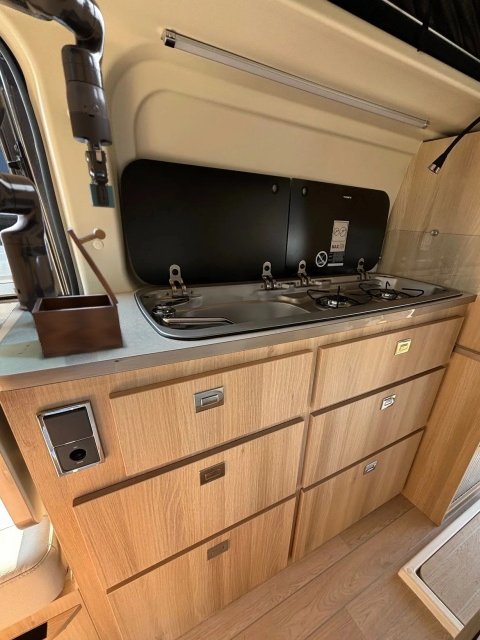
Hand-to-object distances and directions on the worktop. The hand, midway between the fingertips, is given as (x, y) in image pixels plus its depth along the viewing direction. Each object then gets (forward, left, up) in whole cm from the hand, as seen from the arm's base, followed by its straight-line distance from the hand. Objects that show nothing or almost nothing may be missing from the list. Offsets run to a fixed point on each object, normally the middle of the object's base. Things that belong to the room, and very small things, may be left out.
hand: (103, 205), depth 68 cm
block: (0, 0, 0) cm, 0 cm away
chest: (+16, -9, -27) cm, 33 cm away
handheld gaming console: (0, -13, -28) cm, 30 cm away
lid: (+16, -5, -12) cm, 20 cm away
